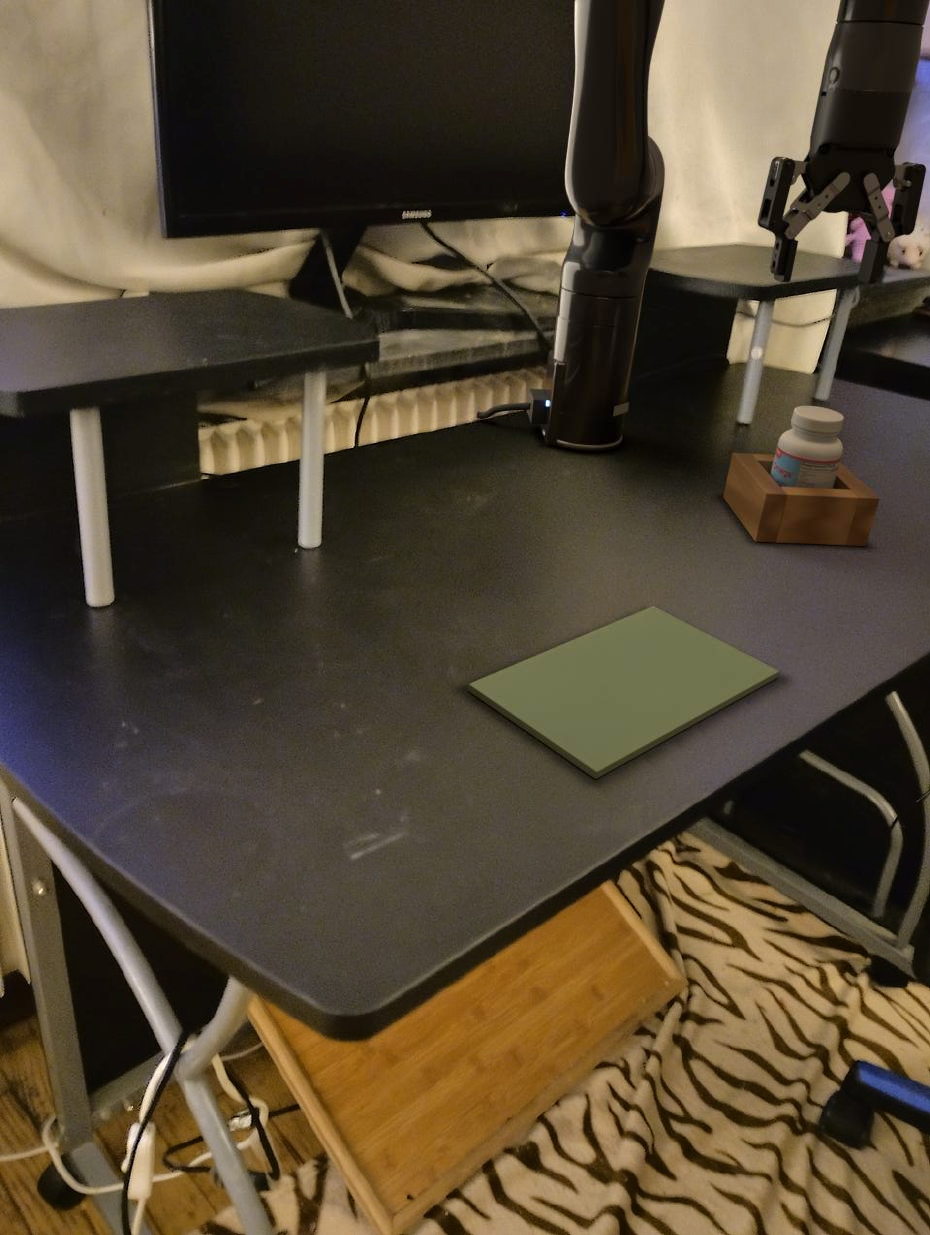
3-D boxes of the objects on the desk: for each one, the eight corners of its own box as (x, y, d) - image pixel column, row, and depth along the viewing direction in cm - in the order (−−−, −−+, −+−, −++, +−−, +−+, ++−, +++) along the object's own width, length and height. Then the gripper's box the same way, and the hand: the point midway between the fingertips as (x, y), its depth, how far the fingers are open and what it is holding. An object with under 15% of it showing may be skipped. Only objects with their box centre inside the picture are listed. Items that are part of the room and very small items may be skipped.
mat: (595, 779, 61) (596, 771, 60) (467, 690, 68) (468, 683, 68) (777, 677, 72) (779, 670, 72) (651, 611, 80) (653, 605, 80)
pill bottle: (754, 506, 102) (778, 400, 96) (813, 511, 102) (840, 405, 96) (768, 530, 96) (795, 420, 91) (830, 535, 96) (860, 425, 91)
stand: (755, 542, 94) (766, 493, 91) (722, 497, 103) (732, 452, 101) (866, 546, 95) (880, 498, 92) (823, 501, 104) (835, 457, 102)
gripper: (917, 89, 89) (873, 276, 97) (770, 81, 87) (736, 273, 94) (966, 91, 82) (914, 291, 90) (808, 82, 80) (769, 288, 88)
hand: (823, 281), depth 92 cm, fingers open, 8 cm apart
